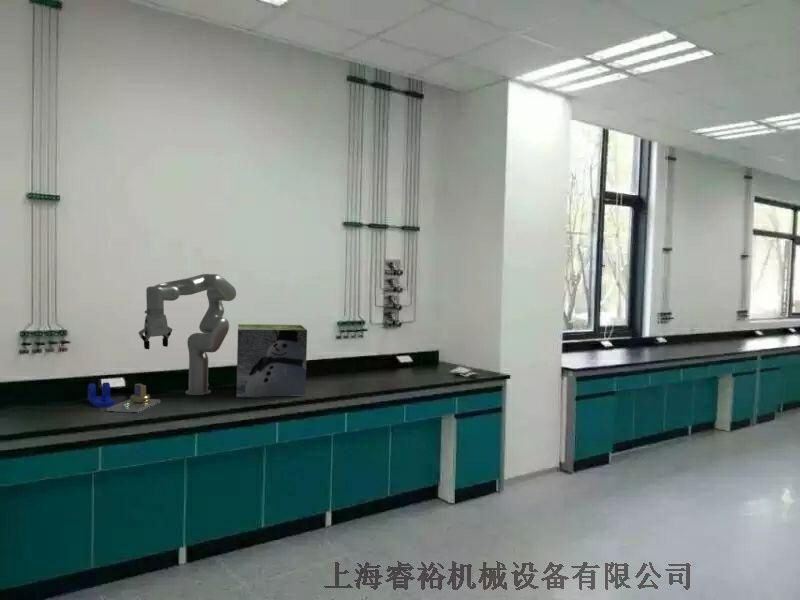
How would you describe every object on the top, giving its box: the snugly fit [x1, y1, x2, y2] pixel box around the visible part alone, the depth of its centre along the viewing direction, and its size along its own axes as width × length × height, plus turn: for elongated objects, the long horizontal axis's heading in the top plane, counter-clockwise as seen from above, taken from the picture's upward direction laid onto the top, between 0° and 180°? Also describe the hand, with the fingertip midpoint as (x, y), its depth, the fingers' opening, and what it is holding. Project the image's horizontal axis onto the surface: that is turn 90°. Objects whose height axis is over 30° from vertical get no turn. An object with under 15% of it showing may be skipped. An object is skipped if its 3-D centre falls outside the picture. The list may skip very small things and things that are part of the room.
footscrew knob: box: [130, 383, 151, 403], centre depth 279 cm, size 10×8×8 cm
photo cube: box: [236, 323, 308, 398], centre depth 323 cm, size 35×35×35 cm
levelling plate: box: [106, 398, 161, 413], centre depth 274 cm, size 22×14×3 cm, turn 177°
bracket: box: [87, 382, 115, 408], centre depth 280 cm, size 18×8×9 cm, turn 40°
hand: (156, 347), depth 284 cm, fingers open, 9 cm apart
